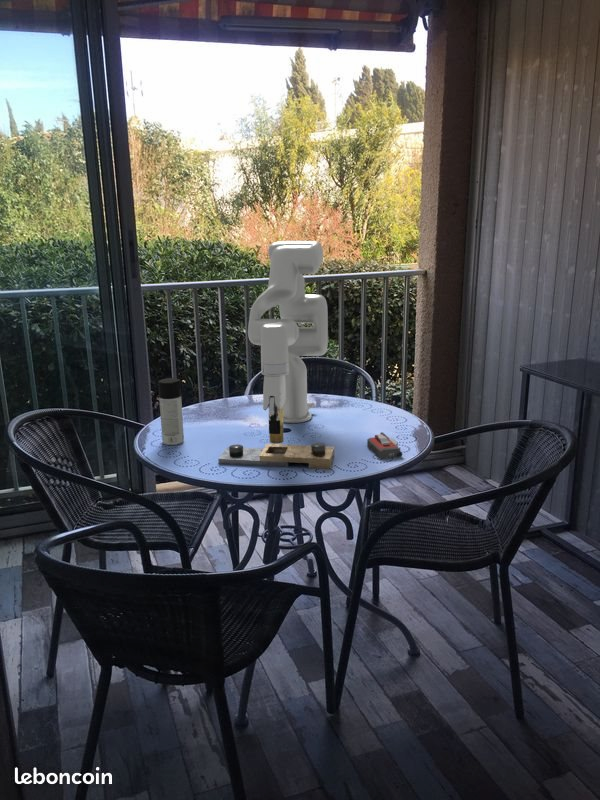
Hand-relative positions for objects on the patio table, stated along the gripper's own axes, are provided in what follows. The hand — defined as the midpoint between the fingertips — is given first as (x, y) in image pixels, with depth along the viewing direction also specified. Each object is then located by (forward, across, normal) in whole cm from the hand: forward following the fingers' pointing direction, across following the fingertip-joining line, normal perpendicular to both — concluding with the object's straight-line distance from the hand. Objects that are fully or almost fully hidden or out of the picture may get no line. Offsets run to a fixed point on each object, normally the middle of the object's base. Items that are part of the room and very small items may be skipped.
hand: (276, 430), depth 189 cm
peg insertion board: (+9, 0, 0) cm, 9 cm away
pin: (+3, 0, 0) cm, 3 cm away
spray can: (+9, -11, -35) cm, 38 cm away
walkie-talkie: (+10, -15, +30) cm, 34 cm away
